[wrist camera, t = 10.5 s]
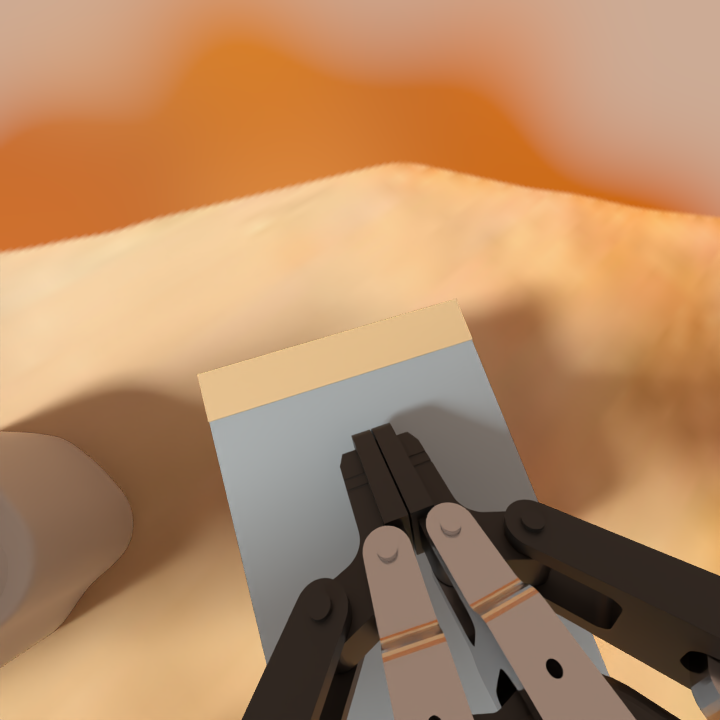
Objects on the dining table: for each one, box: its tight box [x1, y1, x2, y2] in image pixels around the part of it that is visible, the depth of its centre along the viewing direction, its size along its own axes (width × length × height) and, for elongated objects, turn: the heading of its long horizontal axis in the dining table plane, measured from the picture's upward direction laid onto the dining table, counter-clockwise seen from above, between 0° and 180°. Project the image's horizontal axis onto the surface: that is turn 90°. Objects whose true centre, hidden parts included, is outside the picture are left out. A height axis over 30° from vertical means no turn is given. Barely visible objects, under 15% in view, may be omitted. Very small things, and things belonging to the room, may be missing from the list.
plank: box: [197, 299, 610, 720], centre depth 13 cm, size 16×12×1 cm
